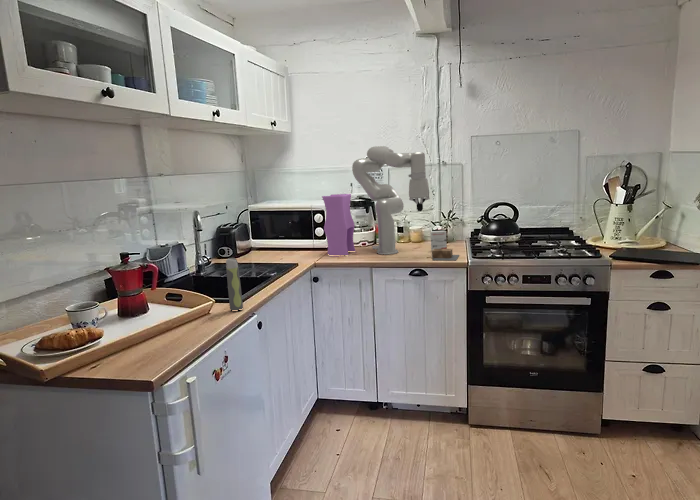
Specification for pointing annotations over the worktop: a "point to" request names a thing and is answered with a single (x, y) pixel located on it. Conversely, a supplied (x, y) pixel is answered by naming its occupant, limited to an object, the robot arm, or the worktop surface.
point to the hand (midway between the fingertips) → (419, 211)
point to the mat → (447, 258)
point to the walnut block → (442, 253)
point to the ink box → (438, 240)
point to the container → (339, 224)
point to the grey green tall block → (234, 284)
